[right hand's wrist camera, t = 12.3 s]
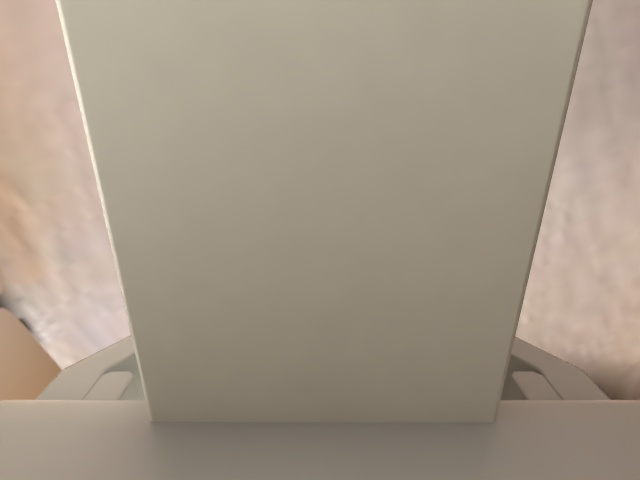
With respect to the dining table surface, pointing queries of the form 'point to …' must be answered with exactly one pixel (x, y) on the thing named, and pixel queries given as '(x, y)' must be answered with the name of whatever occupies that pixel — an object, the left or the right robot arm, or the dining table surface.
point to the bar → (323, 195)
